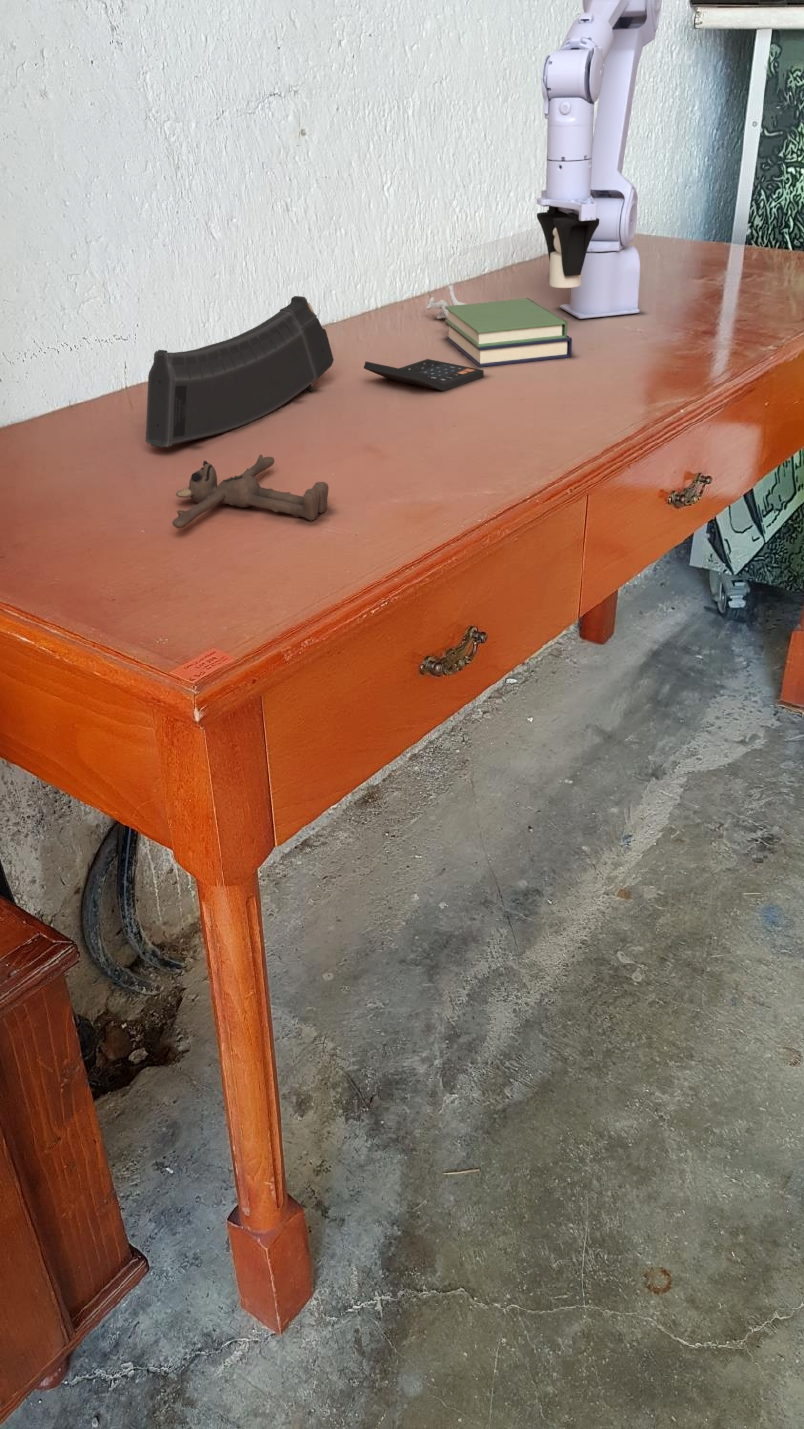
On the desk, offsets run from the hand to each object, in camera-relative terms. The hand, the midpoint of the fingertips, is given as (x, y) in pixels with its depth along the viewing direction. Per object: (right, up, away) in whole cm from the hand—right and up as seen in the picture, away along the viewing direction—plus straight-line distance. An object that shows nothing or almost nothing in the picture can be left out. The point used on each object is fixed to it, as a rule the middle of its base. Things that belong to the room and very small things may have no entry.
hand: (565, 271), depth 152 cm
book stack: (-8, -9, +2) cm, 12 cm away
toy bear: (0, -1, +1) cm, 2 cm away
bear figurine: (-36, -40, -44) cm, 69 cm away
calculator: (-19, -18, -10) cm, 28 cm away
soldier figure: (-14, -3, +14) cm, 19 cm away
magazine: (-39, -25, -20) cm, 50 cm away
